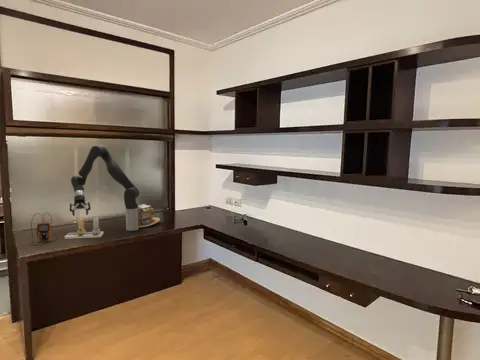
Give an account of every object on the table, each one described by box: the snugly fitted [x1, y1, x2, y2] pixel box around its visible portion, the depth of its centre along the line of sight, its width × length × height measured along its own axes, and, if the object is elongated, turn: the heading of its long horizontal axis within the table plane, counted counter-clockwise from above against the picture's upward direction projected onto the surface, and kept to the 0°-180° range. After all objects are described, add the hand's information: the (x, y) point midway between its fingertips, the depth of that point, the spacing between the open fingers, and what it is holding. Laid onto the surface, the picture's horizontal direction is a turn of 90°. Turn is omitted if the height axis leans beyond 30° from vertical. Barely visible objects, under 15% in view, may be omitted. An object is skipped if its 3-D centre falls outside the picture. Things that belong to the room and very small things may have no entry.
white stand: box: [64, 217, 105, 240], centre depth 237 cm, size 24×10×13 cm, turn 102°
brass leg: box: [76, 217, 86, 235], centre depth 235 cm, size 4×6×11 cm
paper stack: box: [138, 203, 161, 228], centre depth 272 cm, size 25×25×17 cm
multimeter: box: [30, 212, 58, 246], centre depth 220 cm, size 15×10×20 cm
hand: (80, 214), depth 243 cm, fingers open, 8 cm apart
